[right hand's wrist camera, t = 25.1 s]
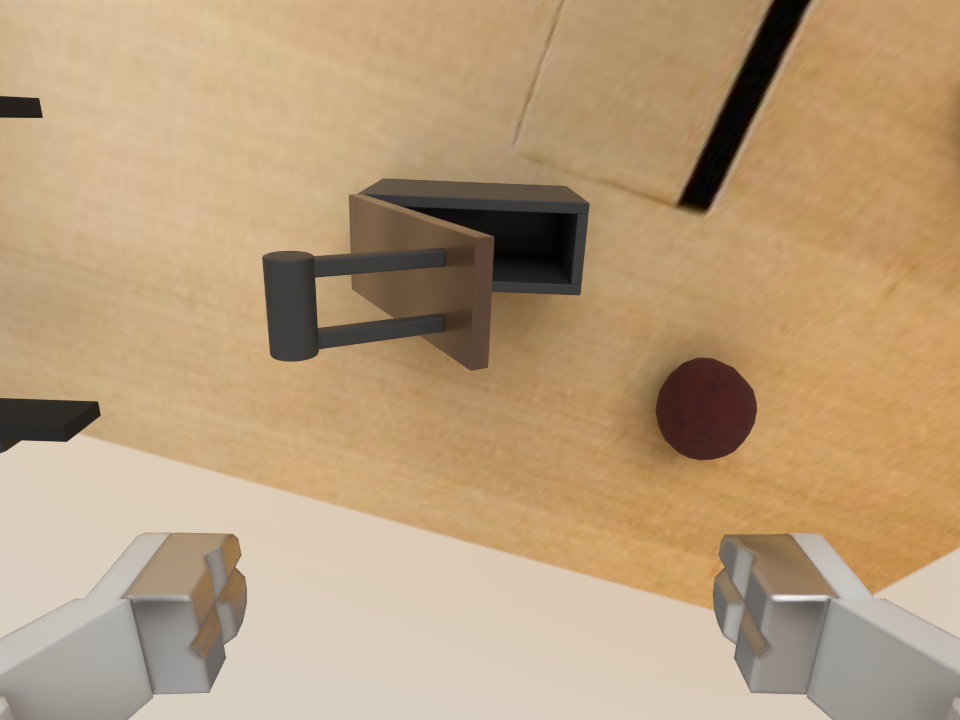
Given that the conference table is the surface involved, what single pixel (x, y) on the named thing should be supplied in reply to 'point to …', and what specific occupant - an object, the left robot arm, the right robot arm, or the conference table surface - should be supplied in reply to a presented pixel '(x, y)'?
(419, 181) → the chest
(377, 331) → the lid
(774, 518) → the conference table surface
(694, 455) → the potato
